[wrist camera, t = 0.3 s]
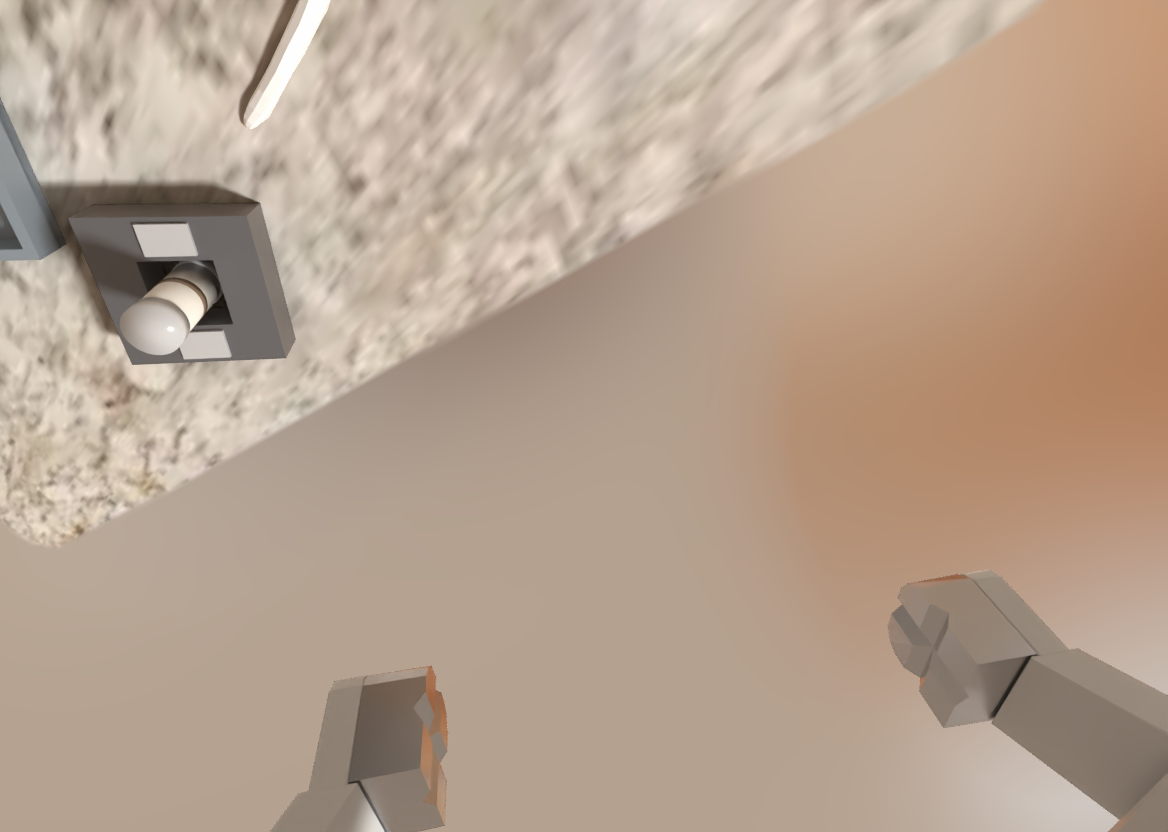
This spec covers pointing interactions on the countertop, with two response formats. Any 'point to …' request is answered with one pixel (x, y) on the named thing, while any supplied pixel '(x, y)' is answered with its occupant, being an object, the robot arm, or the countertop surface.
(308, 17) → the thin white wavy stick
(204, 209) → the block
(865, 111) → the countertop surface
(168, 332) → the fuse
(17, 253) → the parts tray
